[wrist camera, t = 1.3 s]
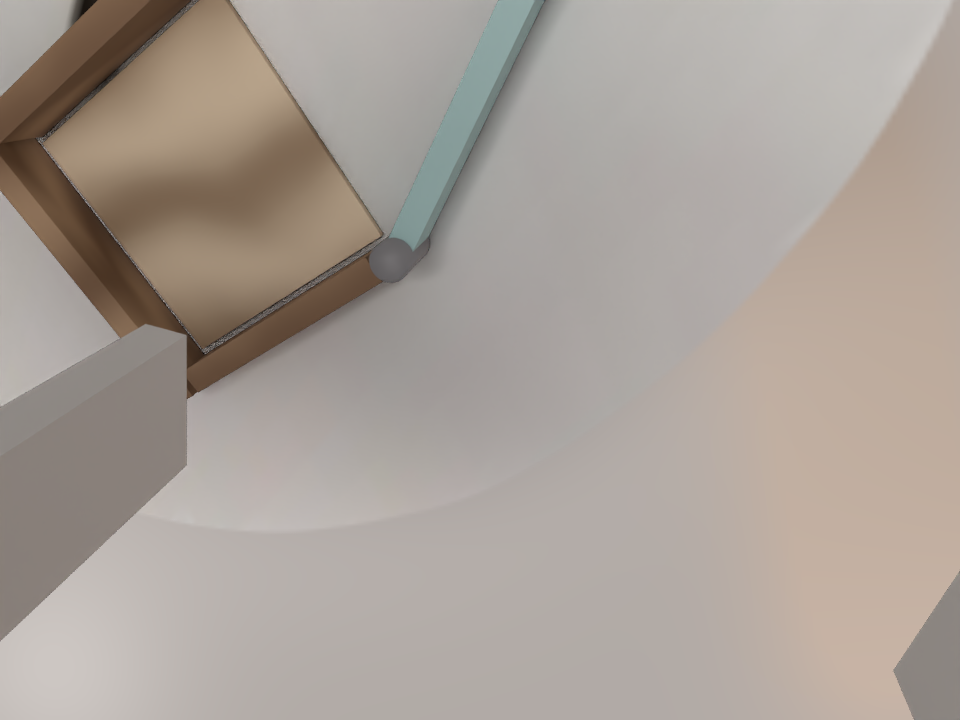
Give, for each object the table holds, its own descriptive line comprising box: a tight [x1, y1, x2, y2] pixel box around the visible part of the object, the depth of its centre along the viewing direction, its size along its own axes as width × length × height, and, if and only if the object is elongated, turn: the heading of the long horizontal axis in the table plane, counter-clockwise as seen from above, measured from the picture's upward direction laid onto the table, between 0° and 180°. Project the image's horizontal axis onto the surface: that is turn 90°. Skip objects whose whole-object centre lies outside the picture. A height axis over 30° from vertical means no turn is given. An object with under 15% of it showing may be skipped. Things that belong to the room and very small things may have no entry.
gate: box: [369, 0, 545, 283], centre depth 25 cm, size 14×2×3 cm, turn 152°
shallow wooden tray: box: [0, 0, 383, 399], centre depth 30 cm, size 14×13×2 cm
